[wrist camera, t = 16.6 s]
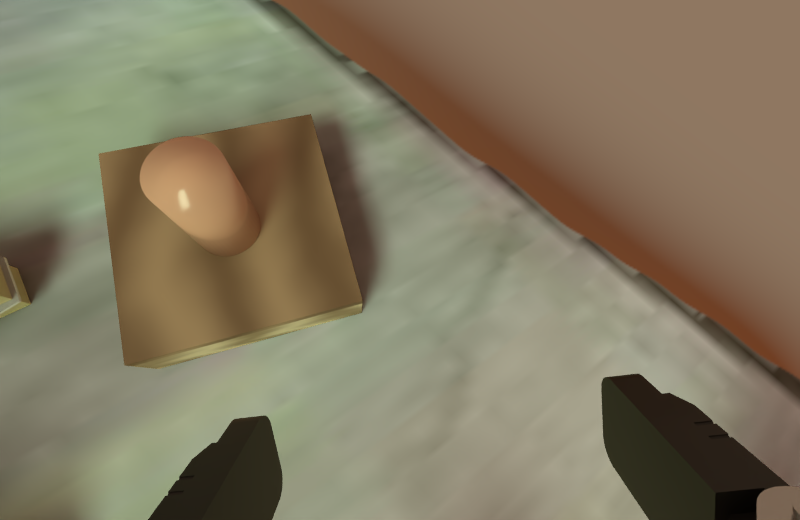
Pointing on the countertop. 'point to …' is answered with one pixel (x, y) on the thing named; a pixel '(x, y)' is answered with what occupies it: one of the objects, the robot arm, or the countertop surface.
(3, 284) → the stacked layers on plate
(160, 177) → the peach domed capsule
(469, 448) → the countertop surface
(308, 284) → the plinth
